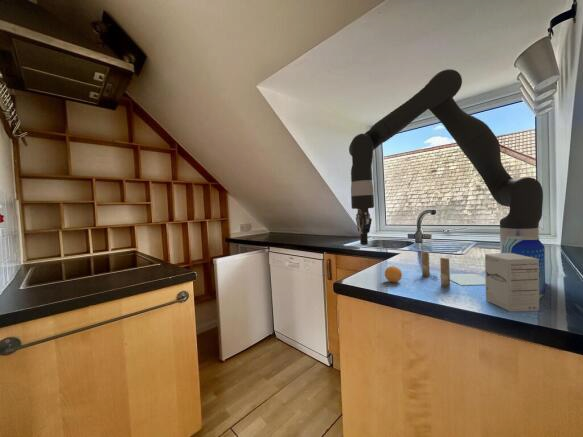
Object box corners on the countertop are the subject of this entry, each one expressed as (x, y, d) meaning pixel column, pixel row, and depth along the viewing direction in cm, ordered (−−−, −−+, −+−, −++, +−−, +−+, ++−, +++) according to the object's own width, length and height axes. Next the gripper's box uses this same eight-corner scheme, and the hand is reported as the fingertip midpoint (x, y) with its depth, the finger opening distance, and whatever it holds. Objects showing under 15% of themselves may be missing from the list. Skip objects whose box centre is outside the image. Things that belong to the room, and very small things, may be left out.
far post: (427, 274, 90) (426, 250, 90) (430, 276, 88) (430, 252, 87) (421, 274, 90) (420, 251, 90) (424, 276, 88) (423, 252, 87)
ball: (398, 279, 86) (397, 264, 86) (404, 284, 81) (404, 267, 80) (382, 280, 86) (382, 264, 86) (388, 284, 81) (387, 268, 81)
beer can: (526, 289, 71) (525, 235, 70) (555, 300, 62) (554, 238, 62) (495, 289, 71) (494, 236, 71) (519, 300, 63) (518, 239, 63)
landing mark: (474, 274, 88) (474, 273, 88) (500, 284, 76) (500, 283, 76) (440, 275, 88) (440, 274, 88) (461, 285, 76) (461, 284, 76)
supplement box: (484, 300, 64) (483, 253, 64) (513, 299, 64) (512, 252, 63) (508, 312, 57) (507, 259, 56) (541, 311, 57) (540, 257, 56)
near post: (447, 285, 78) (446, 257, 77) (451, 287, 75) (450, 258, 75) (439, 285, 78) (438, 257, 77) (443, 287, 75) (442, 259, 75)
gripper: (379, 192, 76) (381, 247, 77) (368, 195, 89) (369, 241, 90) (355, 194, 77) (357, 248, 77) (347, 196, 90) (349, 242, 90)
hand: (364, 244), depth 84 cm, fingers closed
